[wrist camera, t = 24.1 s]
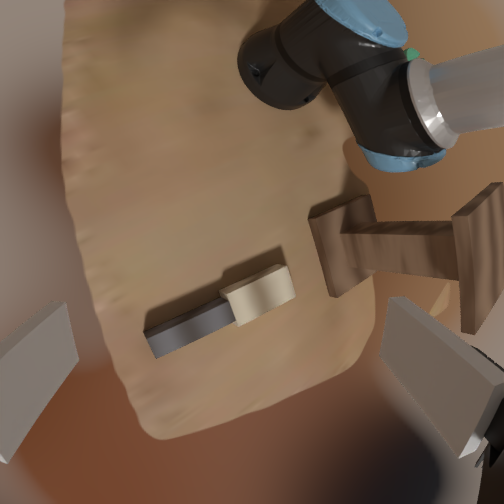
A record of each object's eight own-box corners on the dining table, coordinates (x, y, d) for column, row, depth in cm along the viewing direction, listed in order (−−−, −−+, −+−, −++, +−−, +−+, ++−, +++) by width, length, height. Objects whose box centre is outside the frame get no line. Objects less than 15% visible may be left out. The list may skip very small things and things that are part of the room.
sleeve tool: (276, 263, 48) (287, 265, 45) (285, 293, 49) (296, 296, 46) (140, 325, 39) (143, 332, 36) (155, 357, 40) (159, 365, 37)
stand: (365, 193, 56) (502, 182, 32) (381, 261, 59) (511, 274, 35) (303, 221, 50) (467, 216, 25) (325, 298, 53) (474, 335, 28)
